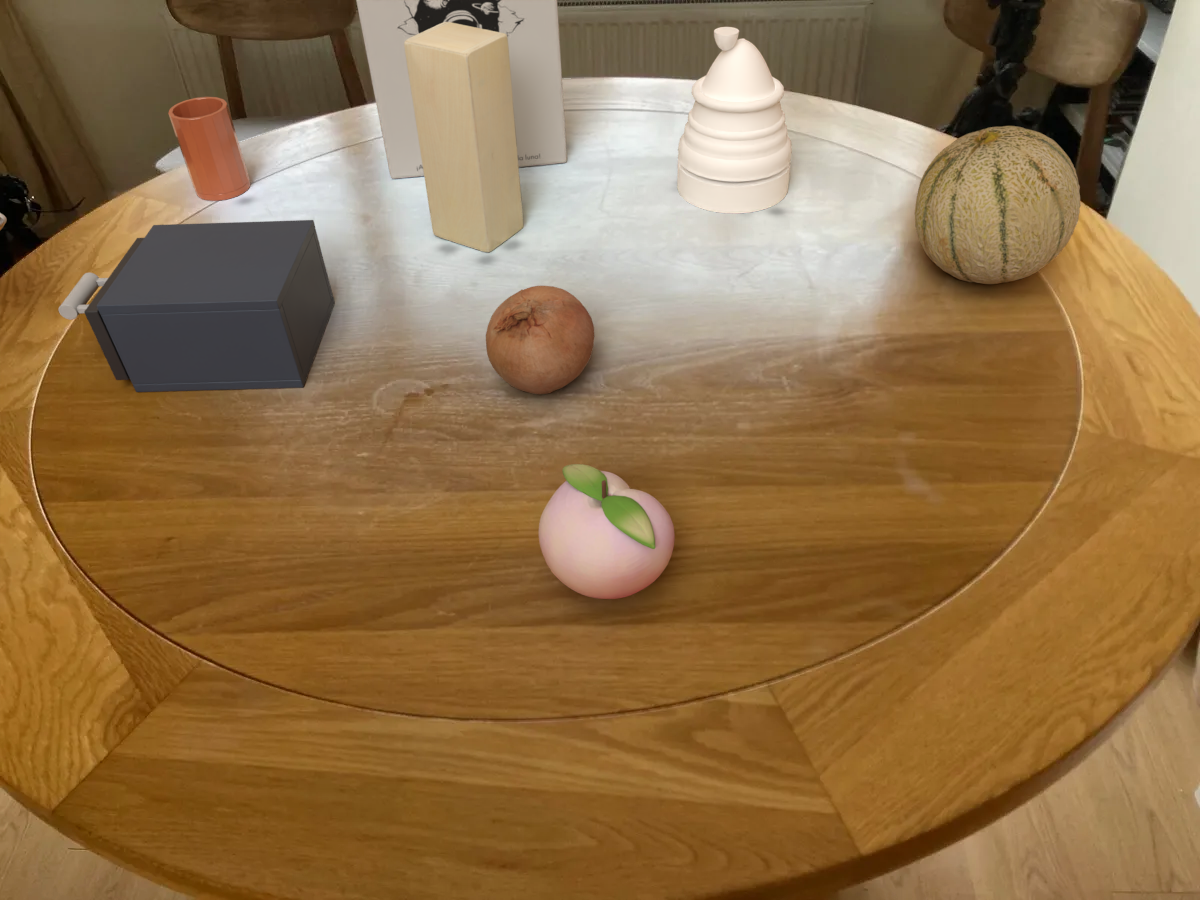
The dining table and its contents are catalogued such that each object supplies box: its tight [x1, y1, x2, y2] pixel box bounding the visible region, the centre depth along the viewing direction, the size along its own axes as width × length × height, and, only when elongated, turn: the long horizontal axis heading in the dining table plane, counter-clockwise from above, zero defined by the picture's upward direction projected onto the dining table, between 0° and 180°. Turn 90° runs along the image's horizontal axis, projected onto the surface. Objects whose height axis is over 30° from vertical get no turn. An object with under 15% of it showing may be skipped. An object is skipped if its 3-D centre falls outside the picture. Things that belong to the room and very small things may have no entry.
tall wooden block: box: [404, 22, 524, 253], centre depth 100 cm, size 8×7×21 cm
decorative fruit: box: [538, 463, 676, 600], centre depth 65 cm, size 9×8×10 cm
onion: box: [485, 285, 596, 395], centre depth 83 cm, size 10×9×10 cm
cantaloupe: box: [914, 125, 1081, 285], centre depth 92 cm, size 15×15×15 cm
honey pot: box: [676, 26, 793, 215], centre depth 106 cm, size 13×13×18 cm
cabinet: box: [97, 219, 336, 393], centre depth 89 cm, size 15×14×9 cm
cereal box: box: [355, 0, 568, 180], centre depth 112 cm, size 22×8×25 cm, turn 98°
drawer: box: [58, 237, 145, 381], centre depth 89 cm, size 19×13×7 cm
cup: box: [167, 96, 251, 202], centre depth 113 cm, size 6×6×10 cm
